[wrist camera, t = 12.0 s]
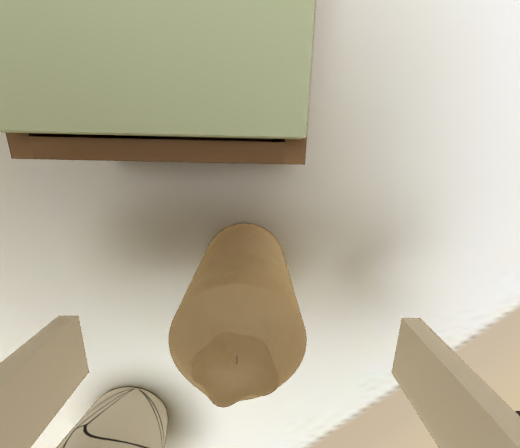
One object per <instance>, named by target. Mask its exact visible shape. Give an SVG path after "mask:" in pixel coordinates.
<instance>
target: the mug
mask: <svg viewBox="0 0 520 448" xmlns="http://www.w3.org/2000/svg"><path fill="white" fill-rule="evenodd" d="M167 424H168V416H167V411H166V408H165V406H164V404H163V403H162V402H161V400H160V399H159V398H158V397H156V396H155V395H154V394H152V393H150V392H148V391H146V390H143V389H140V388H134V387H123V388H117V389H114V390H112V391H109V392H108V393H106V394H104V395H103V396H102V397H101V398H100V399H99V400H97V402H96V403H95V404H94V405H93V406H92V407H91V408H90V409H89V410H88V412H87V413H86V414H85V415H84V416H83V417H82V418H81V420H80V421H79V422H78V423H77V424H76V425H75V427H74V428H73V429H72V430H71V431H70V432H69V433H68V435H67V436H66V437H65V438H64V439H63V440H62V442H61V443H60V444H59V445H58V446H57V447H56V448H164V446H165V439H166V433H167Z"/></svg>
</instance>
